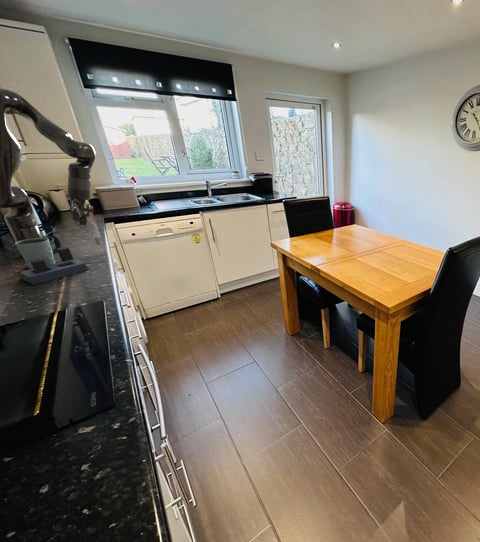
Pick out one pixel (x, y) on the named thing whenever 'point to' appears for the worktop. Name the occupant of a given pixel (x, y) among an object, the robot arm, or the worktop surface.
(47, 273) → the pad mount
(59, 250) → the back pad
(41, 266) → the mounted pad
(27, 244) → the drinking glass
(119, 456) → the worktop surface
